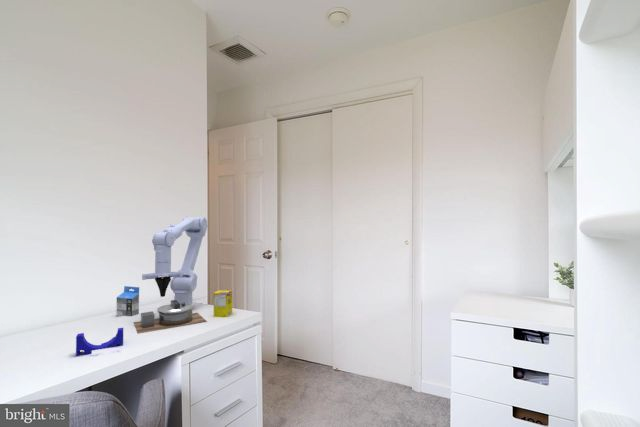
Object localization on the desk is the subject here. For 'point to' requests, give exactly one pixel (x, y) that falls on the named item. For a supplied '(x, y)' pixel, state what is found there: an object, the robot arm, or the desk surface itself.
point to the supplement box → (222, 303)
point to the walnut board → (195, 320)
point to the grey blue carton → (128, 302)
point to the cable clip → (87, 347)
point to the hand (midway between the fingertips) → (162, 296)
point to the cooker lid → (174, 307)
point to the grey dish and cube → (166, 319)
